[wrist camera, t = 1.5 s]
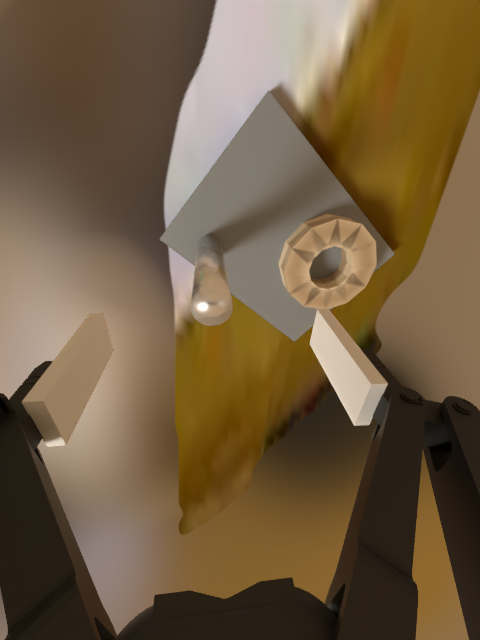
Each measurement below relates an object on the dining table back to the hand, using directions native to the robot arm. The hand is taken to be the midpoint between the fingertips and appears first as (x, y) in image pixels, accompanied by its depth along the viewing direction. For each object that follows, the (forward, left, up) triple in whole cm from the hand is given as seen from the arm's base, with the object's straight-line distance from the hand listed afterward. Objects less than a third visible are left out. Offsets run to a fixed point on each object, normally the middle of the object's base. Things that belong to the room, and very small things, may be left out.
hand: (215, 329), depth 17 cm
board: (+7, +6, -19) cm, 21 cm away
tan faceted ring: (+12, +8, -18) cm, 23 cm away
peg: (0, 0, -18) cm, 18 cm away
